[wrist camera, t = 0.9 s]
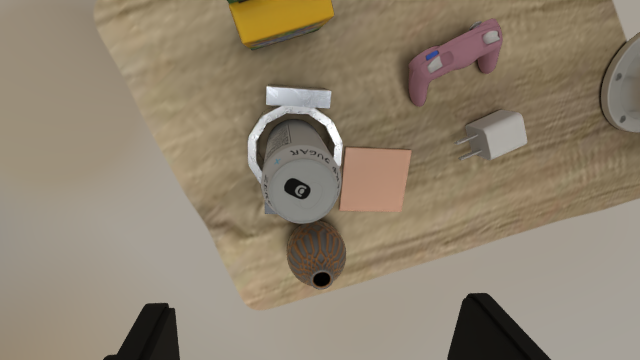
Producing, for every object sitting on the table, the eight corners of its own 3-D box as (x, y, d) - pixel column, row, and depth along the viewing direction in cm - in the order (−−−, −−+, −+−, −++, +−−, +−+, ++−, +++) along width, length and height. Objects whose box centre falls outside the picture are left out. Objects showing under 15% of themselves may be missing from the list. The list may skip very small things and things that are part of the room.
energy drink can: (303, 178, 37) (318, 243, 23) (258, 154, 35) (244, 209, 21) (329, 134, 36) (362, 175, 22) (283, 107, 34) (286, 133, 20)
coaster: (410, 149, 37) (411, 150, 37) (399, 209, 40) (401, 211, 40) (345, 146, 36) (346, 147, 36) (339, 209, 39) (339, 210, 38)
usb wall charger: (503, 138, 39) (527, 145, 35) (452, 161, 39) (471, 171, 35) (497, 108, 37) (522, 113, 34) (444, 132, 37) (463, 139, 34)
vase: (319, 268, 42) (328, 317, 33) (275, 244, 40) (274, 290, 31) (350, 229, 40) (368, 270, 32) (306, 202, 38) (314, 239, 30)
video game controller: (472, 39, 36) (504, -1, 29) (492, 73, 35) (528, 41, 28) (395, 77, 36) (407, 47, 29) (413, 112, 36) (429, 89, 29)
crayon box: (251, 52, 32) (237, 42, 21) (241, 21, 31) (220, -7, 20) (319, 31, 32) (340, 11, 21) (311, 0, 31) (328, -39, 20)
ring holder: (251, 83, 33) (246, 85, 28) (340, 89, 34) (349, 92, 29) (251, 195, 37) (247, 213, 32) (330, 197, 38) (337, 214, 34)
